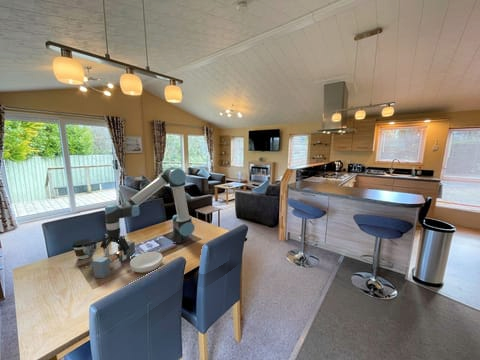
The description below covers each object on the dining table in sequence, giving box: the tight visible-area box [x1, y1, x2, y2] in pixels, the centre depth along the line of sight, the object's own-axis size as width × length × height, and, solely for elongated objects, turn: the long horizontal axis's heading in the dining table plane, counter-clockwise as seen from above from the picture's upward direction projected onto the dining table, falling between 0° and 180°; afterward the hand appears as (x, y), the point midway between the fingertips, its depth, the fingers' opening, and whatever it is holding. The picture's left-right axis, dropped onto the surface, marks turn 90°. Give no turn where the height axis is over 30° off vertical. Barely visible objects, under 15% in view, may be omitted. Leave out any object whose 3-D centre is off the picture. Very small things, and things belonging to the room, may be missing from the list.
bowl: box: [129, 251, 163, 274], centre depth 128 cm, size 20×20×6 cm
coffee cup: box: [71, 238, 92, 260], centre depth 139 cm, size 11×11×12 cm
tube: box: [108, 248, 125, 264], centre depth 134 cm, size 19×4×4 cm, turn 169°
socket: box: [92, 256, 111, 279], centre depth 120 cm, size 5×7×11 cm
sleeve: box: [117, 240, 136, 262], centre depth 140 cm, size 8×7×11 cm
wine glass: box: [82, 240, 98, 268], centre depth 131 cm, size 8×8×15 cm
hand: (115, 258), depth 130 cm, fingers open, 13 cm apart
